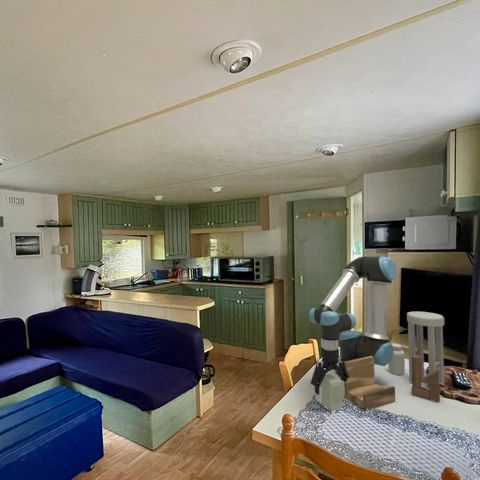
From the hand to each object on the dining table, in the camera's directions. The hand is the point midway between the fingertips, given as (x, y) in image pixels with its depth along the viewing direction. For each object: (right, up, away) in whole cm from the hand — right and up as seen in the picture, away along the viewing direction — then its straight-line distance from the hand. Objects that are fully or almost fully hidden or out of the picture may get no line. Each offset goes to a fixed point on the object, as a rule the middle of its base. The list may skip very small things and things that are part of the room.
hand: (330, 398), depth 126 cm
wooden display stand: (+19, -4, +6) cm, 20 cm away
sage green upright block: (0, -3, 0) cm, 3 cm away
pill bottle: (+47, -5, +34) cm, 58 cm away
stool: (+55, -4, +20) cm, 58 cm away
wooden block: (+46, -4, +7) cm, 47 cm away
